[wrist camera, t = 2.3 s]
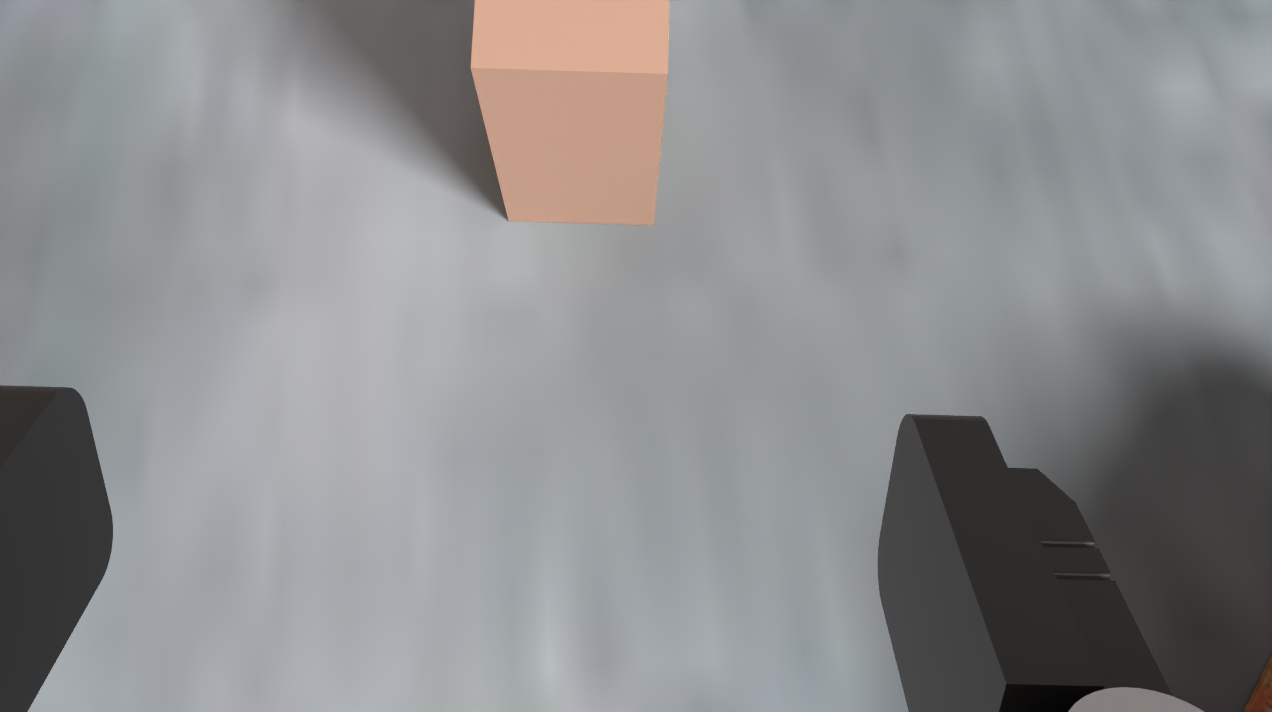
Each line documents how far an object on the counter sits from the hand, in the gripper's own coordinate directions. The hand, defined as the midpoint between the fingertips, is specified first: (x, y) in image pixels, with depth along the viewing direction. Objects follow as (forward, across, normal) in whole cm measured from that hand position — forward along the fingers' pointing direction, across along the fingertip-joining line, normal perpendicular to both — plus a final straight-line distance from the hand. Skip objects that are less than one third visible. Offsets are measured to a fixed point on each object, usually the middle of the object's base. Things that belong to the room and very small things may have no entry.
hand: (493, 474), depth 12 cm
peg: (+22, 0, +5) cm, 23 cm away
